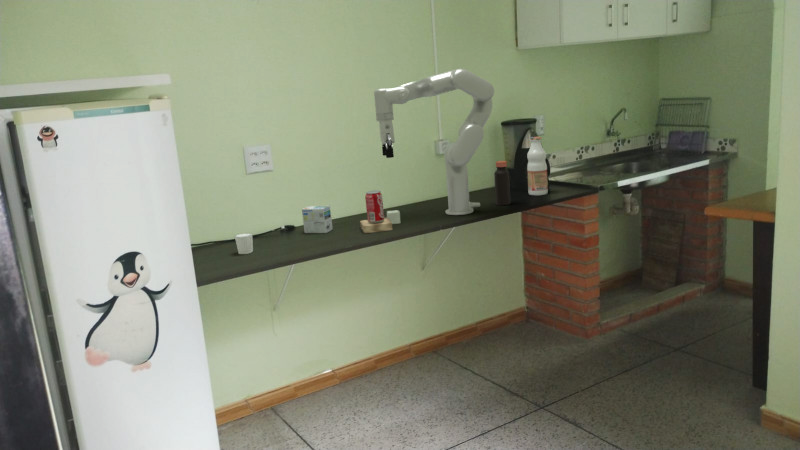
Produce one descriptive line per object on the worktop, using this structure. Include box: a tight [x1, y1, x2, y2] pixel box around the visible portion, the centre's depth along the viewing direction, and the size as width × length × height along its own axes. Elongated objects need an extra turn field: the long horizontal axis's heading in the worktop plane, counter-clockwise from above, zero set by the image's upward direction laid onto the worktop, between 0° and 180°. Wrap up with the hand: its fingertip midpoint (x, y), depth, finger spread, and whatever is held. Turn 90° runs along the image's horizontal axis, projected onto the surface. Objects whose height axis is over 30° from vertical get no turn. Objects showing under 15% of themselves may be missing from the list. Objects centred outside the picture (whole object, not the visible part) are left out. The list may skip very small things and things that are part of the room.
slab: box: [359, 217, 393, 234], centre depth 291 cm, size 12×12×3 cm
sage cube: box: [386, 209, 401, 225], centre depth 299 cm, size 5×5×5 cm
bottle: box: [494, 160, 511, 207], centre depth 318 cm, size 7×7×20 cm
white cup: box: [234, 232, 254, 255], centre depth 268 cm, size 7×7×7 cm
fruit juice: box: [526, 136, 549, 196], centre depth 335 cm, size 9×9×28 cm
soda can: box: [364, 190, 385, 223], centre depth 288 cm, size 7×7×13 cm
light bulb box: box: [301, 205, 333, 234], centre depth 294 cm, size 11×7×11 cm, turn 71°
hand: (388, 156), depth 301 cm, fingers open, 9 cm apart
